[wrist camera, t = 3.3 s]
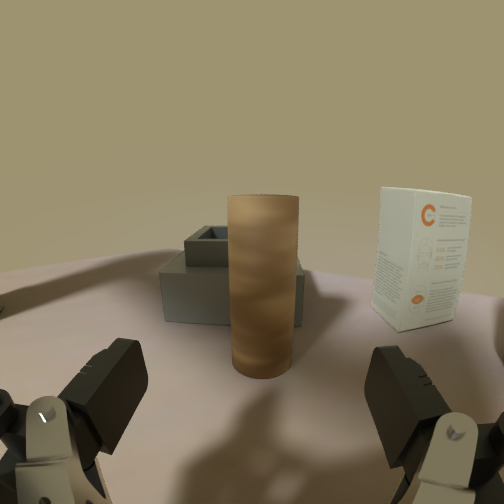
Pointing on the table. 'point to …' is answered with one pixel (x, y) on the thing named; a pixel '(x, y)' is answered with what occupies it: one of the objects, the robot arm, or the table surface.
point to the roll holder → (206, 281)
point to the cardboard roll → (262, 281)
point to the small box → (420, 256)
